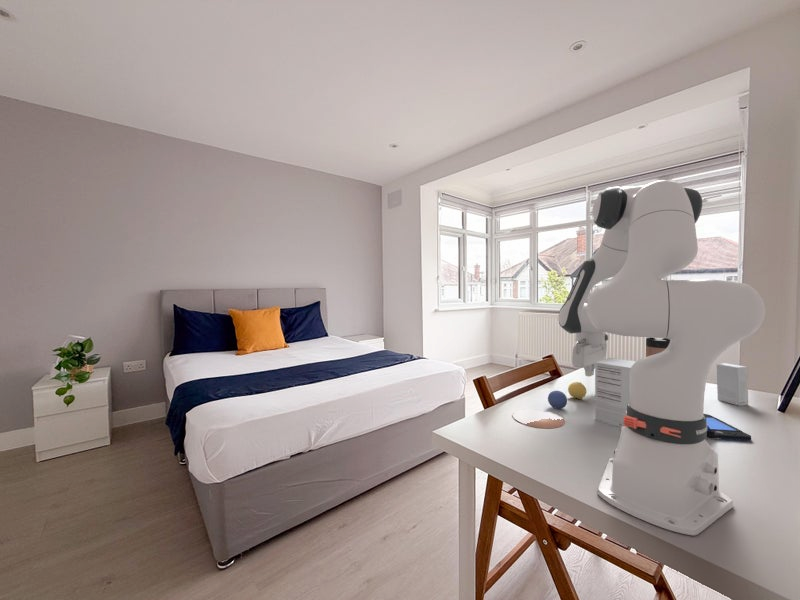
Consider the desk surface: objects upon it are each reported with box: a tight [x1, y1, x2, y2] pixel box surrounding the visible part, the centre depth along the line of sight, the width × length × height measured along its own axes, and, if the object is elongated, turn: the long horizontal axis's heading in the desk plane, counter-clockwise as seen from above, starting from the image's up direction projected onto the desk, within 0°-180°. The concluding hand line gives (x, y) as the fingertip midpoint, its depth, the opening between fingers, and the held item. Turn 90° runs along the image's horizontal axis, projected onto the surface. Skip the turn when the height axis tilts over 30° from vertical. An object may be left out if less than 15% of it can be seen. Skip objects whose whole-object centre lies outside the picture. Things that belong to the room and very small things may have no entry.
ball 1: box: [547, 390, 568, 410], centre depth 104 cm, size 6×6×6 cm
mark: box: [525, 418, 565, 429], centre depth 96 cm, size 14×14×1 cm
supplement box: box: [594, 357, 637, 428], centre depth 93 cm, size 10×9×17 cm
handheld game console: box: [703, 413, 752, 442], centre depth 88 cm, size 16×13×9 cm
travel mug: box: [645, 337, 670, 357], centre depth 111 cm, size 8×8×20 cm
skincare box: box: [716, 362, 749, 407], centre depth 106 cm, size 6×4×12 cm
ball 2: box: [567, 381, 587, 400], centre depth 112 cm, size 6×6×6 cm
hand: (589, 375), depth 118 cm, fingers closed
